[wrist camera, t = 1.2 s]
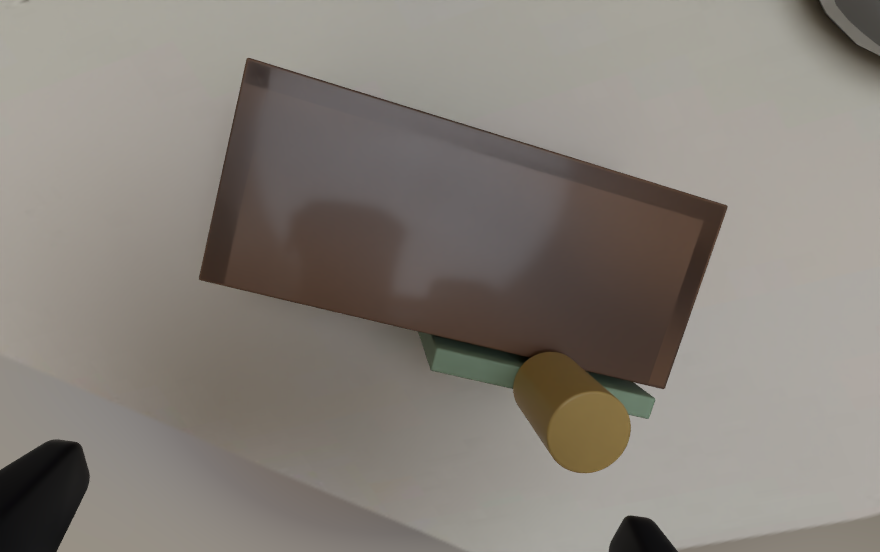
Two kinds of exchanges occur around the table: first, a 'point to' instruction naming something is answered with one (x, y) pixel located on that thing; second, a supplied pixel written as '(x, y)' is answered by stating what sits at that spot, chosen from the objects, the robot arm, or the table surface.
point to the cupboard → (453, 229)
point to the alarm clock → (856, 20)
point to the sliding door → (553, 398)
